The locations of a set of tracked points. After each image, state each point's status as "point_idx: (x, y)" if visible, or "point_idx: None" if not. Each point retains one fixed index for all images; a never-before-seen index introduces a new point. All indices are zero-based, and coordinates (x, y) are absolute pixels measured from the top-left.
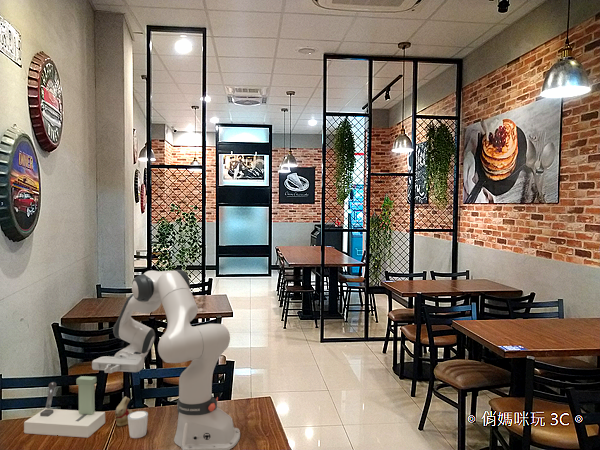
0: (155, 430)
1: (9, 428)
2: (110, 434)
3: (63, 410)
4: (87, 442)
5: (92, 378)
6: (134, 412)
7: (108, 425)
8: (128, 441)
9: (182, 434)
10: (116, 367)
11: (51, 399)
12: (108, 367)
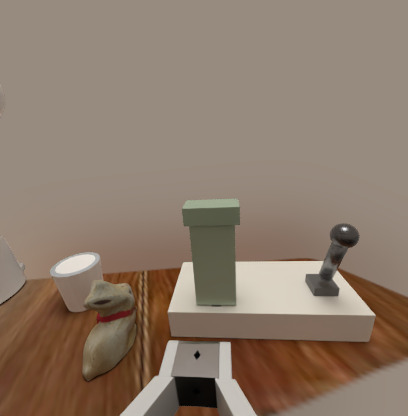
0: (43, 314)
1: (387, 293)
2: (144, 293)
3: (300, 309)
4: (179, 271)
5: (189, 203)
6: (81, 269)
7: (158, 325)
8: (107, 279)
9: (13, 254)
10: (132, 412)
11: (323, 262)
12: (209, 371)
